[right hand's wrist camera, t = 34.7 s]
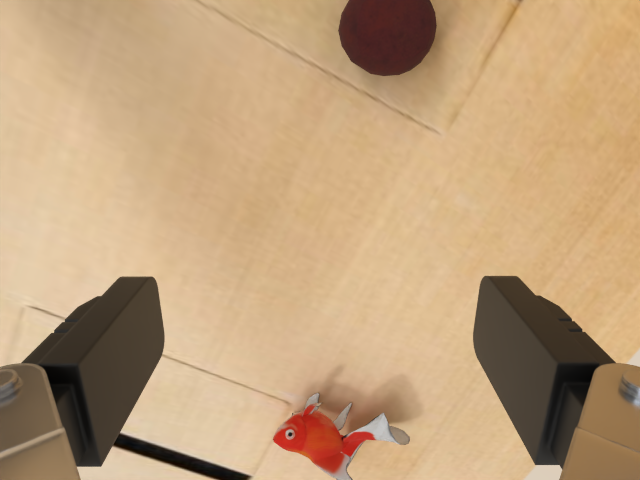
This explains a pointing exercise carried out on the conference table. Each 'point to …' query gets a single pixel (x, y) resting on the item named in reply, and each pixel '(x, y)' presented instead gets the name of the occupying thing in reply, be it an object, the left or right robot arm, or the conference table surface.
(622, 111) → the conference table surface
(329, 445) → the fish
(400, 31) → the dark red ball
